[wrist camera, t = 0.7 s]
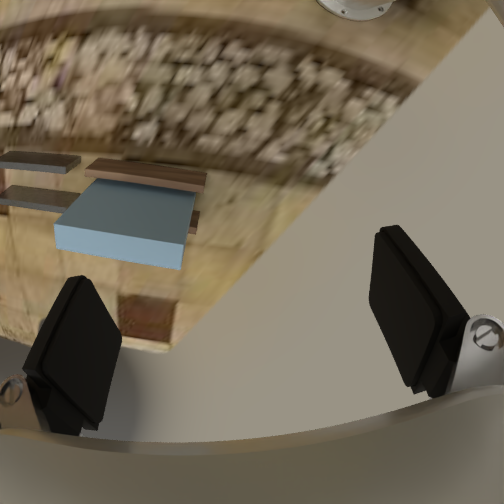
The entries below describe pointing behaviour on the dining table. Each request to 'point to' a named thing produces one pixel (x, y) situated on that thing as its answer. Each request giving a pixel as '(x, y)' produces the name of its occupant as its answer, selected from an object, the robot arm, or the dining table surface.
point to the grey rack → (37, 196)
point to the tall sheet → (128, 223)
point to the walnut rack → (150, 178)
